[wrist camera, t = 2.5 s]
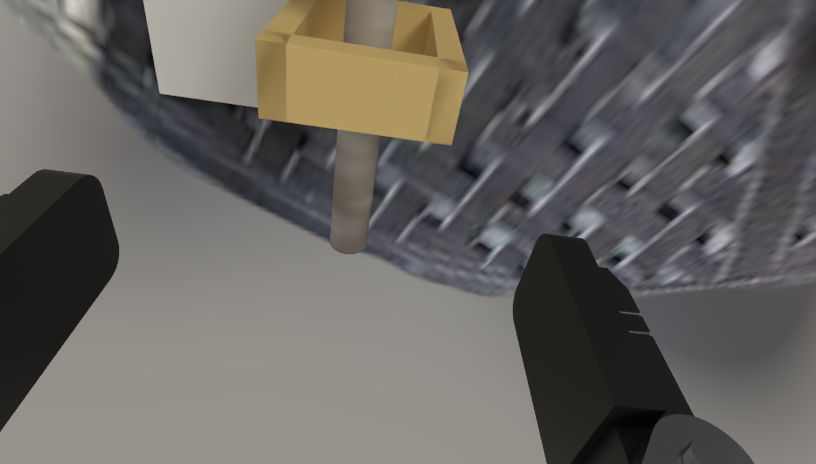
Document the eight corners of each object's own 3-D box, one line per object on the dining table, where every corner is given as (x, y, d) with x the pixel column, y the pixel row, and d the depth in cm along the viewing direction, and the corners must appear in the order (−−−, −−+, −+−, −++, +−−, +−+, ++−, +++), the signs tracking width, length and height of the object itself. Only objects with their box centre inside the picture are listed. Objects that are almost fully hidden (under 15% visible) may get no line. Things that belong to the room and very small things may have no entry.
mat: (305, -43, 26) (302, -40, 26) (302, 109, 32) (300, 113, 31) (137, -72, 25) (130, -70, 25) (164, 88, 31) (159, 93, 30)
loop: (450, 9, 21) (468, 72, 14) (439, 66, 22) (451, 145, 16) (303, -16, 20) (254, 38, 14) (302, 44, 22) (258, 118, 15)
